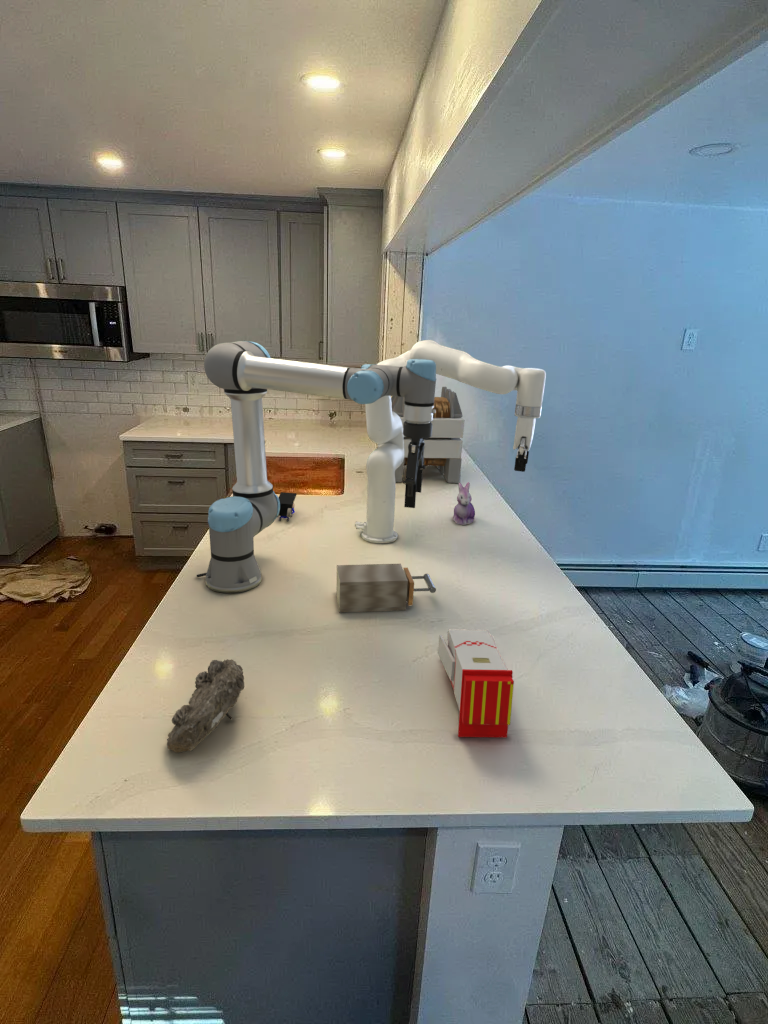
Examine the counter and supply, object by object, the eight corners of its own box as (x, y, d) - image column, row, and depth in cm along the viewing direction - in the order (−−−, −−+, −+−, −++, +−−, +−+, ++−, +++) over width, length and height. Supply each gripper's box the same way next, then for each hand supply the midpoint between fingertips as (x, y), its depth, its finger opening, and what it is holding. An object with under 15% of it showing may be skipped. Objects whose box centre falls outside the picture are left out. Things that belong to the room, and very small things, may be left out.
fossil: (192, 660, 117) (244, 628, 112) (224, 691, 120) (276, 661, 115) (142, 746, 98) (202, 712, 93) (182, 779, 101) (242, 748, 96)
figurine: (460, 527, 208) (464, 488, 203) (445, 518, 217) (448, 480, 212) (481, 523, 212) (485, 485, 207) (465, 515, 221) (469, 478, 216)
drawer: (427, 588, 160) (429, 566, 157) (435, 604, 151) (437, 581, 149) (347, 591, 156) (348, 568, 154) (351, 607, 148) (351, 584, 145)
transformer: (382, 463, 289) (386, 382, 275) (445, 464, 293) (451, 384, 279) (390, 482, 257) (394, 392, 243) (460, 483, 261) (468, 394, 247)
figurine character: (292, 527, 205) (297, 509, 218) (292, 508, 201) (297, 491, 215) (273, 526, 205) (280, 508, 218) (273, 507, 201) (279, 490, 215)
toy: (488, 613, 130) (523, 677, 101) (484, 667, 133) (517, 744, 104) (435, 612, 130) (455, 676, 101) (432, 666, 133) (451, 743, 103)
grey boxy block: (399, 591, 159) (400, 563, 156) (405, 610, 150) (407, 580, 147) (336, 593, 156) (336, 565, 153) (339, 612, 147) (339, 582, 144)
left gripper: (427, 431, 134) (421, 515, 141) (437, 414, 157) (431, 487, 164) (396, 429, 135) (391, 512, 142) (410, 412, 158) (405, 484, 166)
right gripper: (517, 406, 177) (511, 459, 183) (512, 414, 161) (505, 472, 167) (542, 408, 175) (534, 462, 181) (539, 417, 159) (531, 475, 165)
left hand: (413, 499), depth 154 cm, fingers open, 13 cm apart
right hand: (520, 467), depth 174 cm, fingers open, 9 cm apart
